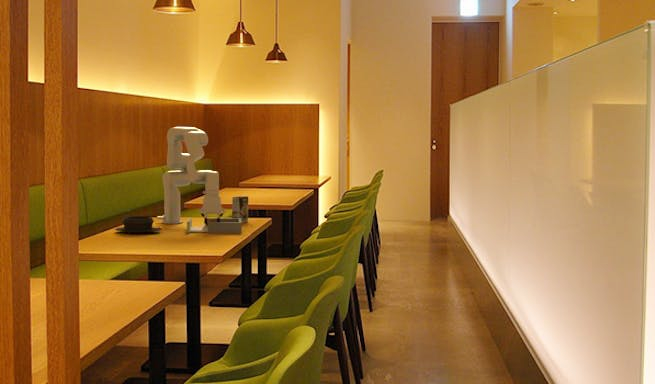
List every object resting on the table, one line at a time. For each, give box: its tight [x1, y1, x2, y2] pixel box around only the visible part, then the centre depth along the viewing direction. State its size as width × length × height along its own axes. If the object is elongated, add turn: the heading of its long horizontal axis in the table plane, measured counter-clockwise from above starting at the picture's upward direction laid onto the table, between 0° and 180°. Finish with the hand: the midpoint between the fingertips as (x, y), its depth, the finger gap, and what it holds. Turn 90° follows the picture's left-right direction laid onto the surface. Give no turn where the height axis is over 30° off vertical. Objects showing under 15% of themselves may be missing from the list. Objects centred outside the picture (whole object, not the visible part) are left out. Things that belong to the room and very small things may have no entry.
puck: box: [207, 217, 218, 227], centre depth 416 cm, size 6×6×4 cm
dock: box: [207, 217, 243, 234], centre depth 417 cm, size 18×20×6 cm
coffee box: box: [231, 195, 249, 224], centre depth 453 cm, size 9×6×16 cm
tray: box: [186, 216, 208, 234], centre depth 415 cm, size 19×20×6 cm
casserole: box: [114, 215, 162, 235], centre depth 405 cm, size 25×19×8 cm
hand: (212, 224), depth 416 cm, fingers closed on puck, 5 cm apart
